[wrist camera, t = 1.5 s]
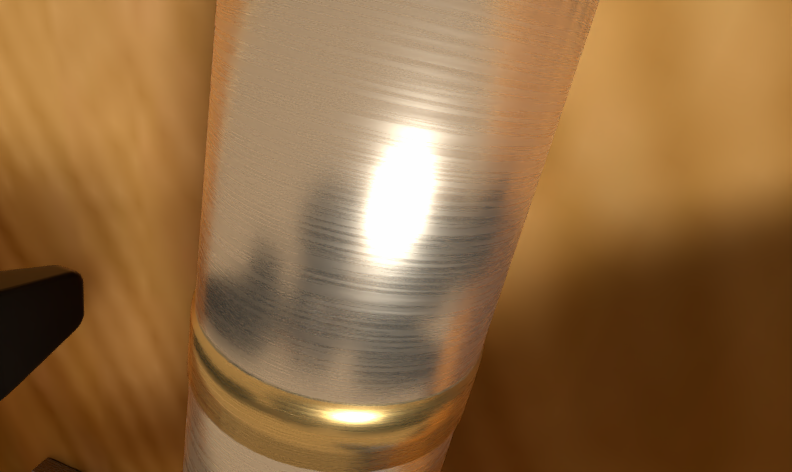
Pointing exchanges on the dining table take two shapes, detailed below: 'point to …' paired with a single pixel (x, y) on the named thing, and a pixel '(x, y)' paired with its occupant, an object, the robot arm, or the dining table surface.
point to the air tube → (362, 221)
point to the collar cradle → (52, 467)
